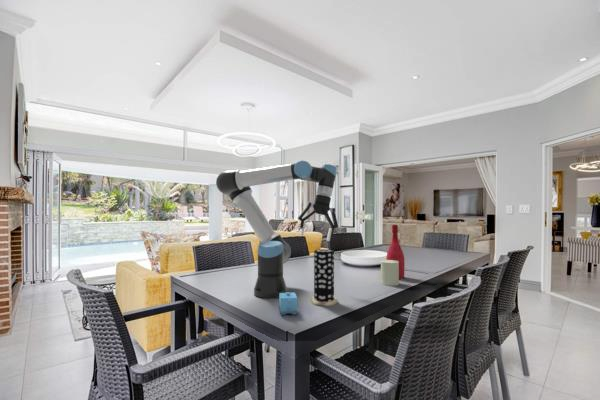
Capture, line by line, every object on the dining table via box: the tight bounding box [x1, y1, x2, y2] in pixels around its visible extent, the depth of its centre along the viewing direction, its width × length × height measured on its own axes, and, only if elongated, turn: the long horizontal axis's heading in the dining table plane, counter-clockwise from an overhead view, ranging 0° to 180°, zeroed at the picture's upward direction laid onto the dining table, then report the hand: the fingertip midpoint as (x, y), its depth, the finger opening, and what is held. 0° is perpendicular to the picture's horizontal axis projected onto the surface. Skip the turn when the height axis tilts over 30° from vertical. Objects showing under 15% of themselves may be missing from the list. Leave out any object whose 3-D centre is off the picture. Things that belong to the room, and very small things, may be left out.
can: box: [380, 259, 400, 287], centre depth 156 cm, size 9×9×12 cm
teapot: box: [278, 291, 298, 316], centre depth 111 cm, size 12×6×8 cm, turn 8°
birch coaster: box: [310, 296, 338, 307], centre depth 125 cm, size 11×11×1 cm
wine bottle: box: [385, 224, 406, 280], centre depth 170 cm, size 10×10×30 cm
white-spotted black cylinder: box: [313, 248, 335, 302], centre depth 125 cm, size 8×8×20 cm
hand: (314, 238), depth 145 cm, fingers open, 13 cm apart
